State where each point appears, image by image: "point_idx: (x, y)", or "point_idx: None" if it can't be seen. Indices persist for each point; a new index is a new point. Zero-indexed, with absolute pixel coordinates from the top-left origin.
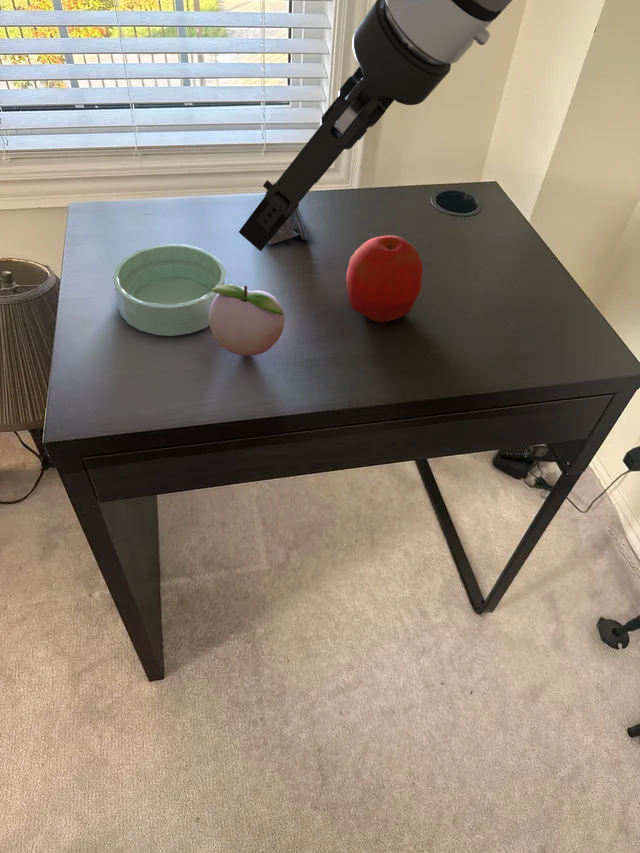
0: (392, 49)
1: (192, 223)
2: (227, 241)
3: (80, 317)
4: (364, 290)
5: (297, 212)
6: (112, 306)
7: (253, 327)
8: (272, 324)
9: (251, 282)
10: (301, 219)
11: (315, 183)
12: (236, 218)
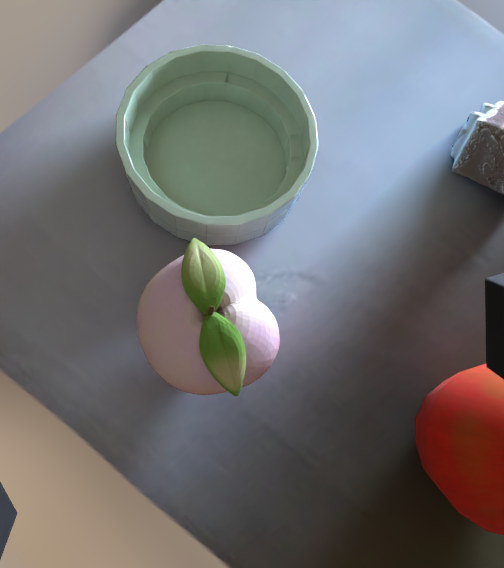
0: None
1: (398, 41)
2: (405, 113)
3: (97, 83)
4: (437, 451)
5: None
6: None
7: (169, 373)
8: (210, 389)
9: (353, 215)
10: None
11: (486, 366)
12: (464, 82)
